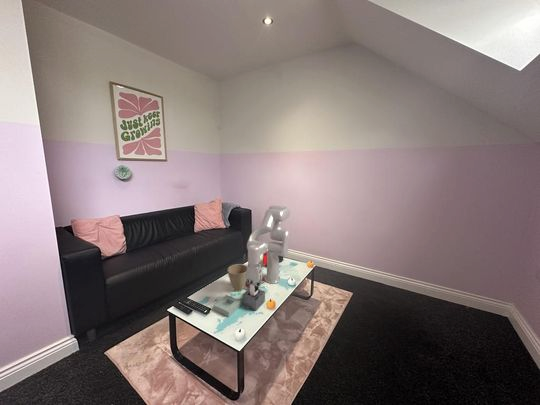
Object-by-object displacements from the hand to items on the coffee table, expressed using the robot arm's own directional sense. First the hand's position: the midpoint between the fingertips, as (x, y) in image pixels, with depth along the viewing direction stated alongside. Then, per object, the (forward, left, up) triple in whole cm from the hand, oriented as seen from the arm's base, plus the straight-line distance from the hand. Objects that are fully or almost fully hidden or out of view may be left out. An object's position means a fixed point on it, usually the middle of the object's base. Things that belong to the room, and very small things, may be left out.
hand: (253, 289), depth 136 cm
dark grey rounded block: (0, 0, -10) cm, 10 cm away
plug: (0, 0, -3) cm, 3 cm away
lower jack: (+12, -12, -10) cm, 20 cm away
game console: (-57, -15, -10) cm, 59 cm away
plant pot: (-8, -19, -10) cm, 23 cm away
